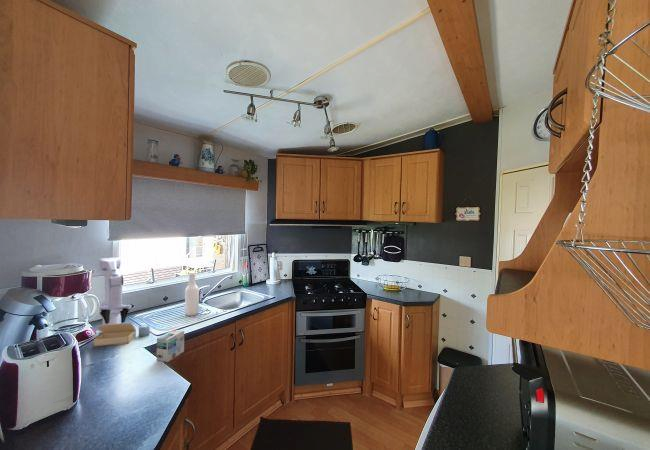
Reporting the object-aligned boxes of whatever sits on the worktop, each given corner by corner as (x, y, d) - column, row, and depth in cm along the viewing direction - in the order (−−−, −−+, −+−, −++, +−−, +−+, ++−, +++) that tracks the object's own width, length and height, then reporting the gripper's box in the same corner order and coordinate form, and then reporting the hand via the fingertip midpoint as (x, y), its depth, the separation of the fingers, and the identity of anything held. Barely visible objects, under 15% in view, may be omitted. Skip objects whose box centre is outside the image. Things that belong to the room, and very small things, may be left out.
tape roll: (141, 333, 149) (141, 325, 149) (151, 332, 150) (151, 324, 150) (136, 337, 144) (136, 328, 144) (147, 336, 145) (147, 327, 145)
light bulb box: (167, 362, 119) (167, 339, 118) (155, 360, 120) (155, 338, 120) (184, 351, 129) (184, 330, 129) (173, 349, 130) (173, 329, 130)
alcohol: (193, 311, 187) (193, 270, 187) (201, 312, 184) (201, 271, 183) (182, 314, 179) (182, 272, 179) (190, 316, 176) (190, 274, 175)
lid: (102, 333, 141) (103, 332, 141) (135, 330, 144) (135, 329, 145) (96, 326, 136) (97, 325, 136) (131, 323, 139) (131, 322, 140)
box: (102, 339, 141) (102, 333, 141) (135, 336, 145) (135, 330, 144) (93, 346, 133) (93, 339, 133) (128, 343, 137) (128, 336, 137)
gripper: (95, 301, 133) (95, 326, 133) (126, 299, 136) (126, 324, 136) (103, 297, 140) (103, 321, 140) (133, 295, 143) (133, 319, 143)
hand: (115, 322), depth 139 cm, fingers open, 7 cm apart
